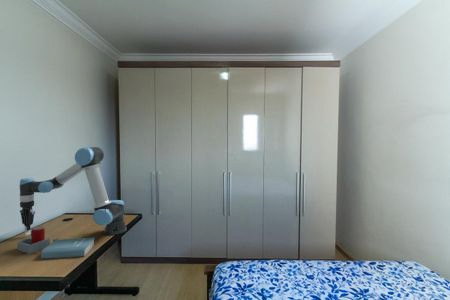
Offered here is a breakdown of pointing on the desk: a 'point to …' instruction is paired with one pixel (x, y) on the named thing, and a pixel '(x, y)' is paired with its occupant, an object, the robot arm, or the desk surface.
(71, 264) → the desk surface
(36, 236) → the beverage can
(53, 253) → the book
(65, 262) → the desk surface
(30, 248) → the tray
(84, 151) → the robot arm
